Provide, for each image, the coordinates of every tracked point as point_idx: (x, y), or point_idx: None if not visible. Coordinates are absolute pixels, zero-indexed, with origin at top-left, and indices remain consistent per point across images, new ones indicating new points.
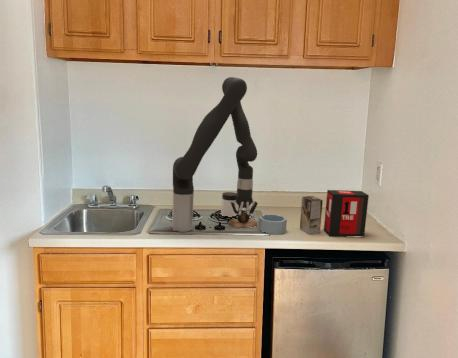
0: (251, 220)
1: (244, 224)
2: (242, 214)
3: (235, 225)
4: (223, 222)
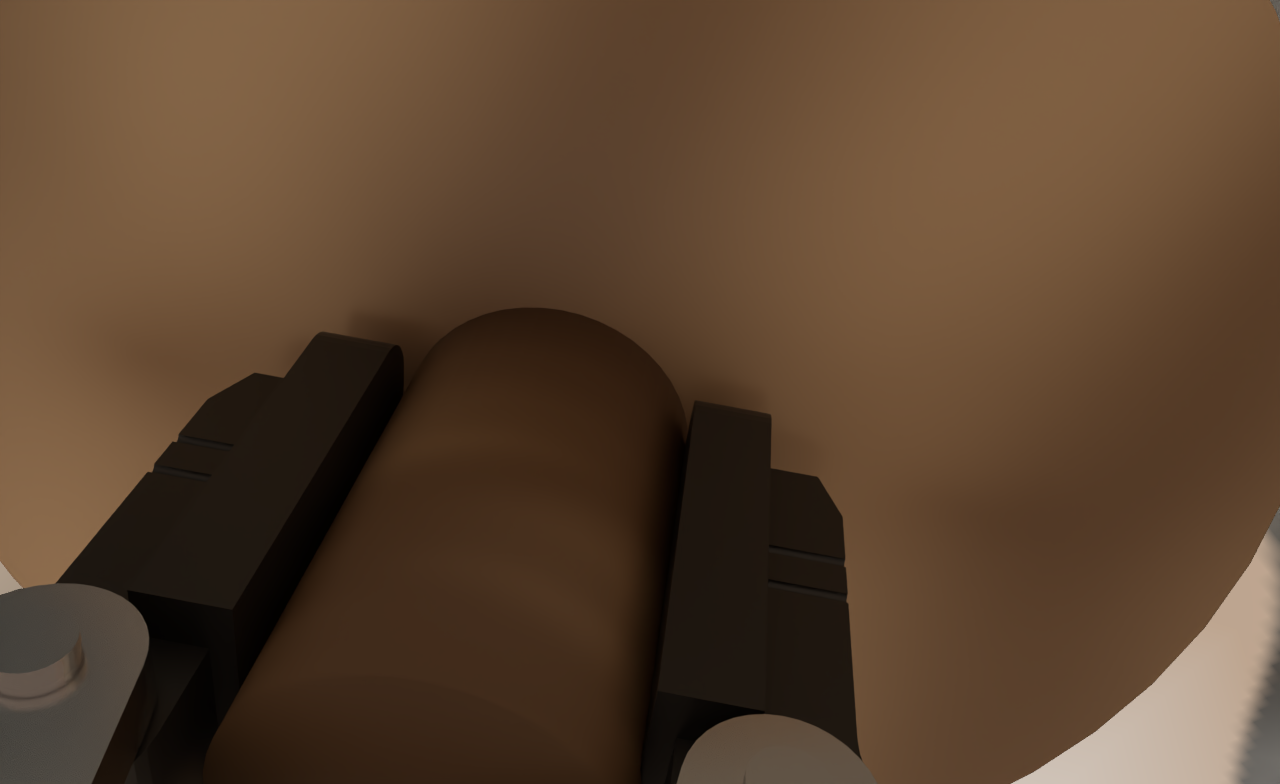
0: None
1: (593, 81)
2: (548, 705)
3: (1252, 6)
4: (1257, 743)
